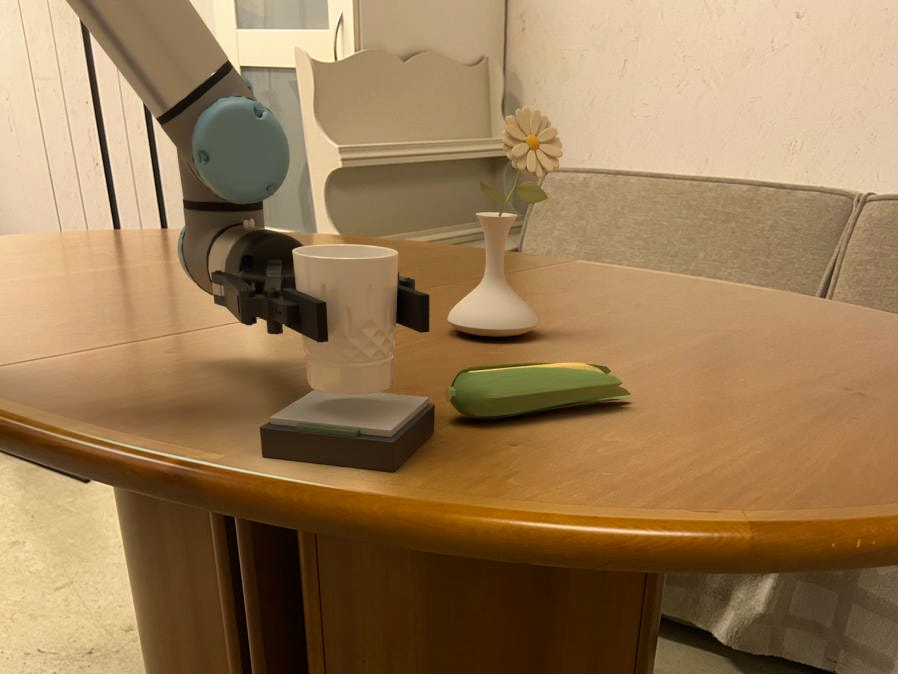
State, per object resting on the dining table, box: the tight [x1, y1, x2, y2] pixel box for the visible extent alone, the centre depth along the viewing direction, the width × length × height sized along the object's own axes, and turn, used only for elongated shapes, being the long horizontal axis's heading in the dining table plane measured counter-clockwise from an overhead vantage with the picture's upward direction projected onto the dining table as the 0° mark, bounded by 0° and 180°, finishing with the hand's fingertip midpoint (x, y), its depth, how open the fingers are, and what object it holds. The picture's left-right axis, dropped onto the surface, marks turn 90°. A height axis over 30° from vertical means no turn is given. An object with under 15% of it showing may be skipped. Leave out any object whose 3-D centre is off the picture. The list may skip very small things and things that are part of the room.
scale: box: [259, 389, 436, 473], centre depth 76 cm, size 11×11×3 cm
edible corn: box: [444, 362, 632, 420], centre depth 86 cm, size 5×20×5 cm, turn 117°
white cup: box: [292, 243, 399, 395], centre depth 72 cm, size 8×8×10 cm
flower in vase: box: [446, 106, 563, 338], centre depth 111 cm, size 13×11×25 cm
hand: (375, 318), depth 68 cm, fingers closed on white cup, 8 cm apart
